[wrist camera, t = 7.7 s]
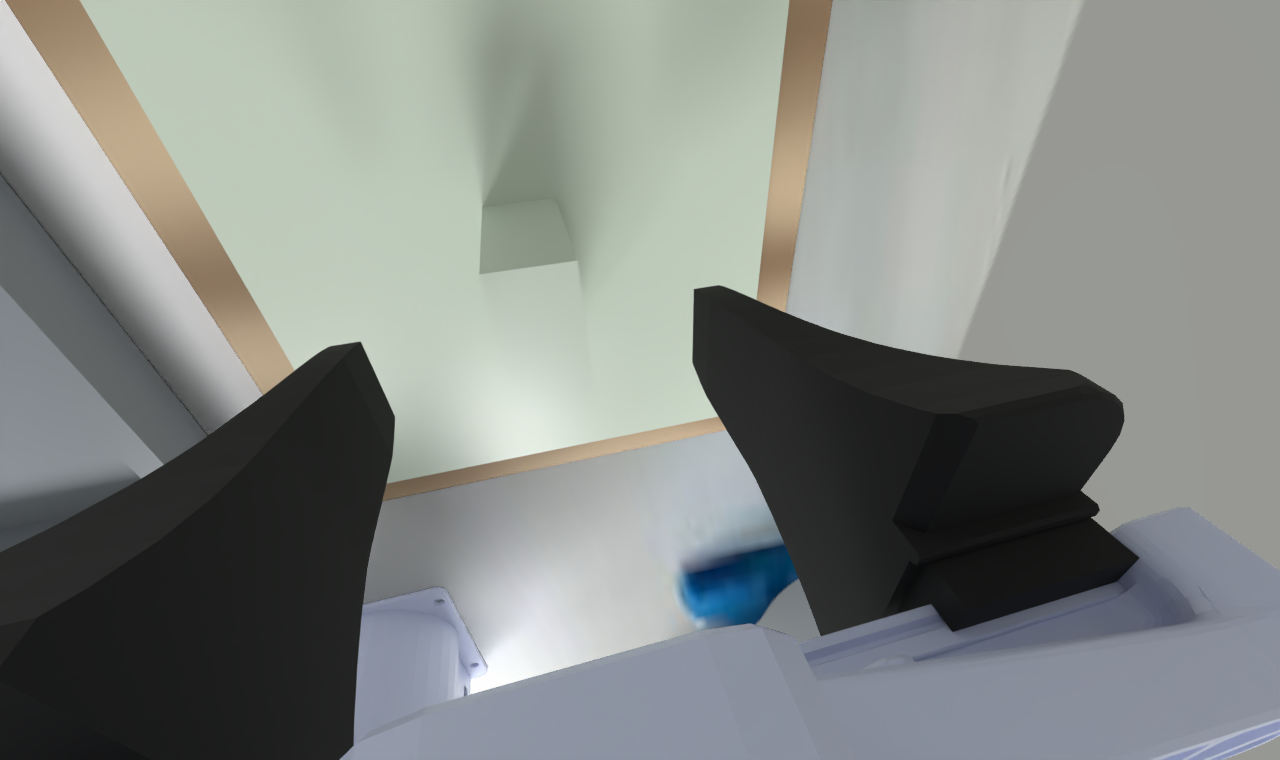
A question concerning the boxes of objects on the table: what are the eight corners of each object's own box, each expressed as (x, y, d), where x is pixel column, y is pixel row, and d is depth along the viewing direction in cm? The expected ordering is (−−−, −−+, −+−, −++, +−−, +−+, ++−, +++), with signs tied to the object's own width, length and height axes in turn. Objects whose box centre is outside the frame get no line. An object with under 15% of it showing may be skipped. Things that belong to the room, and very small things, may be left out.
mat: (764, 415, 22) (768, 420, 22) (340, 502, 19) (338, 510, 19) (848, -167, 11) (858, -171, 11) (-89, -169, 8) (-111, -177, 8)
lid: (739, 403, 21) (796, 492, 17) (365, 478, 18) (332, 602, 15) (787, -72, 12) (933, -115, 8) (68, -50, 9) (-232, -96, 6)
